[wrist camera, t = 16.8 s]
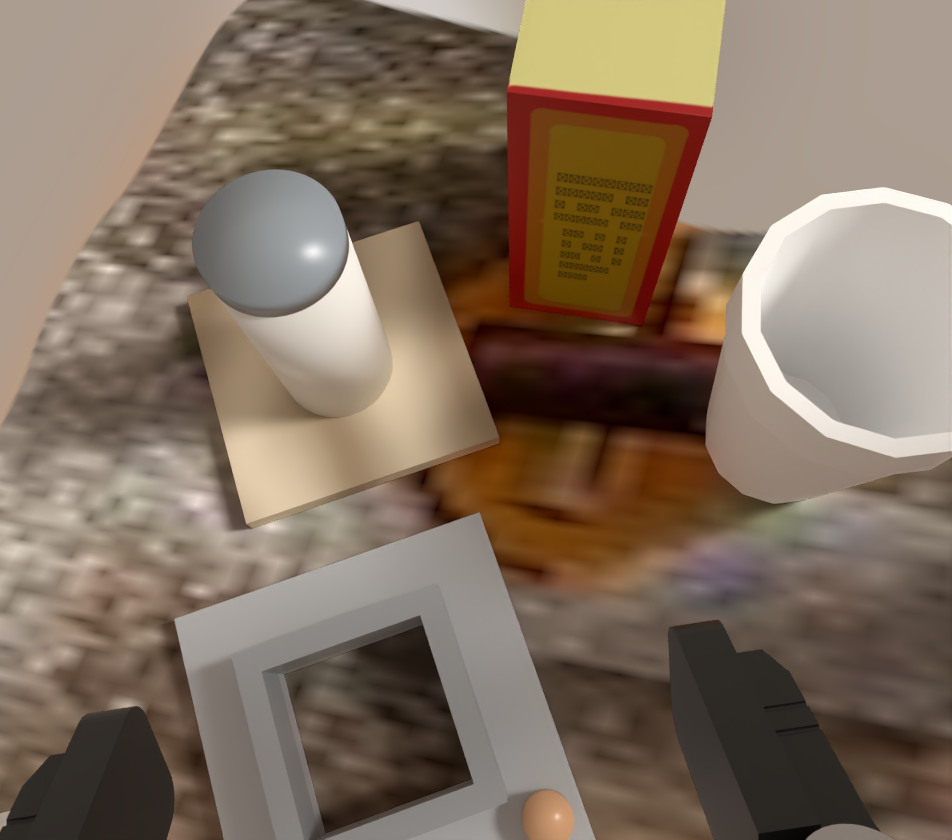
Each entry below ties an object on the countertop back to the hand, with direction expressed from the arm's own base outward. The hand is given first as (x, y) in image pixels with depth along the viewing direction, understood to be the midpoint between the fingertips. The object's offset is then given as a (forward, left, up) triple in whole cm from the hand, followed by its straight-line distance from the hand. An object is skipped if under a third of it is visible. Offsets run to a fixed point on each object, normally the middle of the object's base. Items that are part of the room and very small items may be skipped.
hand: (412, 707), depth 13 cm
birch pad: (+1, -17, -25) cm, 30 cm away
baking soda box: (-13, -20, -25) cm, 34 cm away
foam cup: (-17, -7, -25) cm, 31 cm away
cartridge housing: (+4, -1, -25) cm, 25 cm away
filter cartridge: (+1, -17, -24) cm, 29 cm away
